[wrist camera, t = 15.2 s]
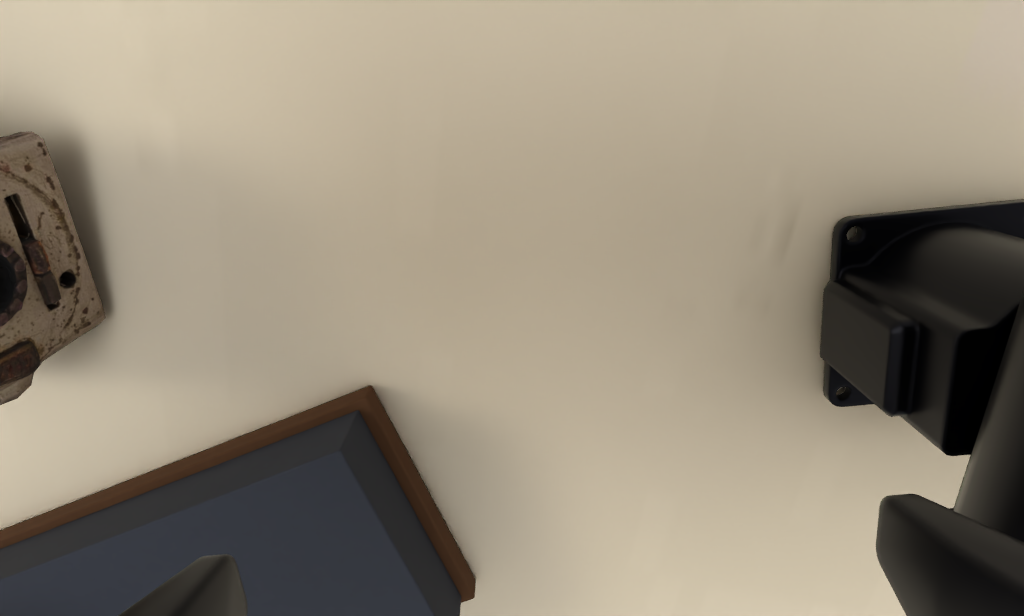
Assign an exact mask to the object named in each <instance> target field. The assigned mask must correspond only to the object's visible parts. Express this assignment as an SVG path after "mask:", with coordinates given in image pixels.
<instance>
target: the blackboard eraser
mask: <svg viewBox="0 0 1024 616" xmlns="http://www.w3.org/2000/svg"><path fill="white" fill-rule="evenodd" d="M223 554H228V555H231V556H232V557H233V558H234V559H235V561H236V563H237V567H238V570H239V574H240V577H241V581H242V584H243V588H244V591H245V595H246V598H247V604H248V612H247V616H460V605H461V602H464V601H467V600H470V599H473V598H474V596H475V578H474V576H473V574H472V572H471V570H470V568H469V567H468V565H467V563H466V561H465V559H464V557H463V555H462V553H461V552H460V550H459V548H458V546H457V544H456V542H455V540H454V539H453V537H452V535H451V533H450V531H449V529H448V527H447V526H446V524H445V522H444V520H443V518H442V516H441V514H440V512H439V511H438V509H437V507H436V505H435V503H434V501H433V499H432V498H431V496H430V494H429V492H428V490H427V488H426V486H425V484H424V483H423V481H422V479H421V477H420V475H419V473H418V471H417V470H416V468H415V466H414V464H413V462H412V460H411V458H410V456H409V455H408V453H407V451H406V449H405V447H404V445H403V443H402V442H401V440H400V438H399V436H398V434H397V432H396V430H395V428H394V427H393V425H392V423H391V421H390V419H389V417H388V415H387V414H386V412H385V410H384V408H383V406H382V404H381V402H380V400H379V399H378V397H377V395H376V393H375V391H374V389H373V387H372V386H368V387H365V388H363V389H360V390H358V391H355V392H353V393H350V394H347V395H345V396H342V397H340V398H337V399H335V400H332V401H330V402H327V403H324V404H322V405H319V406H317V407H314V408H312V409H309V410H307V411H304V412H302V413H299V414H296V415H294V416H291V417H289V418H286V419H284V420H281V421H279V422H276V423H273V424H271V425H268V426H266V427H263V428H261V429H258V430H256V431H253V432H251V433H248V434H245V435H243V436H240V437H238V438H235V439H233V440H230V441H228V442H225V443H222V444H220V445H217V446H215V447H212V448H210V449H207V450H205V451H202V452H200V453H197V454H194V455H192V456H189V457H187V458H184V459H182V460H179V461H177V462H174V463H172V464H169V465H166V466H164V467H161V468H159V469H156V470H154V471H151V472H149V473H146V474H143V475H141V476H138V477H136V478H133V479H131V480H128V481H126V482H123V483H121V484H118V485H115V486H113V487H110V488H108V489H105V490H103V491H100V492H98V493H95V494H92V495H90V496H87V497H85V498H82V499H80V500H77V501H75V502H72V503H70V504H67V505H64V506H62V507H59V508H57V509H54V510H52V511H49V512H47V513H44V514H42V515H39V516H36V517H34V518H31V519H29V520H26V521H24V522H21V523H19V524H16V525H13V526H11V527H8V528H6V529H3V530H1V531H0V616H118V615H120V614H121V613H122V612H124V611H125V610H127V609H128V608H129V607H131V606H132V605H134V604H135V603H136V602H138V601H139V600H141V599H142V598H144V597H145V596H146V595H148V594H149V593H151V592H152V591H153V590H155V589H156V588H158V587H159V586H160V585H162V584H163V583H165V582H166V581H167V580H169V579H170V578H172V577H173V576H175V575H176V574H177V573H179V572H180V571H182V570H183V569H184V568H186V567H187V566H189V565H190V564H191V563H193V562H194V561H196V560H197V559H199V558H200V557H203V556H211V555H223Z"/></svg>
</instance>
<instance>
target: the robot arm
mask: <svg viewBox="0 0 1024 616" xmlns="http://www.w3.org/2000/svg"><path fill="white" fill-rule="evenodd" d="M855 226H856V229H857V232H856V235H855V236H854V237H853V238H852V239H849V240H848V239H847V233H848V231H849V230H850V229H851V228H852V227H855ZM820 357H821V358H822V359H823V360H824V361H825V369H824V386H823V391H824V395H825V397H826V398H827V399H828V400H829V401H830V402H831V403H832V404H834V405H835V406H839V407H846V406H857V405H868V404H875V405H877V406H878V407H879V408H880V409H881V410H882V411H883V412H885V413H886V414H887V415H888V416H891V417H893V416H901V417H902V418H903V419H904V420H906V421H907V422H908V423H909V424H910V425H912V426H913V427H914V428H915V429H916V430H917V431H919V432H920V433H921V434H922V435H923V436H925V437H926V438H927V439H928V440H929V441H931V442H932V443H933V444H934V445H935V446H937V447H938V448H939V449H940V450H941V451H943V452H944V453H945V454H946V455H950V456H958V455H971V456H970V459H969V462H968V465H967V469H966V472H965V475H964V478H963V481H962V484H961V487H960V490H959V494H958V497H957V500H956V503H955V506H954V508H950V509H948V508H946V507H944V506H942V505H939V504H937V503H935V502H933V501H930V500H928V499H926V498H924V497H921V496H919V495H916V494H903V495H892V496H886V497H885V498H883V499H882V501H881V503H880V508H879V518H878V529H877V539H876V552H877V557H878V560H879V563H880V565H881V567H882V569H883V571H884V573H885V575H886V577H887V579H888V581H889V583H890V585H891V586H892V588H893V590H894V592H895V594H896V596H897V598H898V600H899V602H900V604H901V606H902V608H903V610H904V612H905V613H906V615H907V616H1024V199H1021V200H1010V201H1000V202H990V203H980V204H969V205H959V206H949V207H939V208H928V209H918V210H908V211H898V212H887V213H877V214H867V215H857V216H849V217H845V218H843V219H841V220H840V221H839V222H838V223H837V224H836V226H835V227H834V231H833V238H832V255H831V271H830V281H829V282H828V284H827V285H826V286H825V288H824V292H823V309H822V326H821V344H820ZM841 387H845V391H844V392H843V393H842V394H840V395H836V392H837V390H838V389H840V388H841ZM247 612H248V604H247V598H246V595H245V591H244V588H243V584H242V581H241V577H240V574H239V570H238V567H237V563H236V561H235V559H234V558H233V557H232V556H231V555H228V554H223V555H211V556H203V557H200V558H199V559H197V560H196V561H194V562H193V563H191V564H190V565H189V566H187V567H186V568H184V569H183V570H182V571H180V572H179V573H177V574H176V575H175V576H173V577H172V578H170V579H169V580H167V581H166V582H165V583H163V584H162V585H160V586H159V587H158V588H156V589H155V590H153V591H152V592H151V593H149V594H148V595H146V596H145V597H144V598H142V599H141V600H139V601H138V602H136V603H135V604H134V605H132V606H131V607H129V608H128V609H127V610H125V611H124V612H122V613H121V614H120V615H118V616H247Z"/></svg>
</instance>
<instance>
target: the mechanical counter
mask: <svg viewBox="0 0 1024 616" xmlns="http://www.w3.org/2000/svg"><path fill="white" fill-rule="evenodd" d="M105 318H106V317H105V314H104V310H103V306H102V302H101V300H100V297H99V294H98V291H97V289H96V286H95V283H94V280H93V277H92V274H91V272H90V269H89V266H88V263H87V260H86V257H85V254H84V251H83V248H82V245H81V242H80V240H79V237H78V234H77V232H76V229H75V226H74V223H73V220H72V217H71V214H70V211H69V208H68V205H67V202H66V199H65V196H64V193H63V190H62V187H61V185H60V182H59V179H58V176H57V174H56V171H55V168H54V166H53V163H52V160H51V158H50V155H49V153H48V150H47V147H46V145H45V142H44V140H43V138H41V137H40V136H38V135H37V134H35V133H34V132H32V131H31V132H19V133H16V134H13V135H10V136H6V137H0V405H2V404H4V403H7V402H9V401H12V400H14V399H17V398H18V397H19V396H20V395H21V394H22V393H23V392H24V391H25V390H26V389H27V388H29V387H30V386H31V384H32V379H33V374H34V372H35V370H36V369H37V368H38V367H39V365H40V363H41V362H42V361H44V360H45V359H47V358H48V357H50V356H51V355H53V354H54V353H56V352H57V351H59V350H60V349H62V348H63V347H65V346H66V345H68V344H69V343H71V342H72V341H74V340H75V339H77V338H78V337H80V336H81V335H83V334H85V333H86V332H88V331H90V330H91V329H93V328H94V327H96V326H97V325H98V324H99V323H101V322H102V321H103V320H104V319H105Z"/></svg>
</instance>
